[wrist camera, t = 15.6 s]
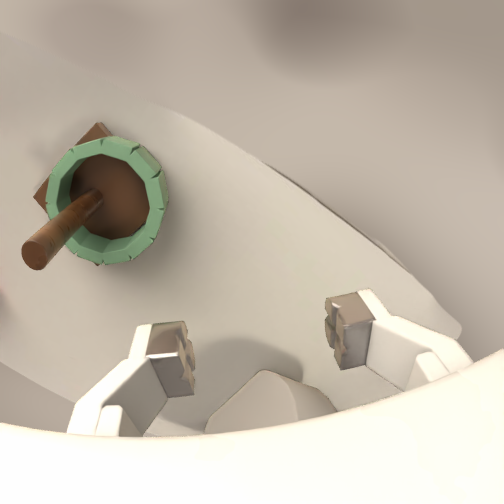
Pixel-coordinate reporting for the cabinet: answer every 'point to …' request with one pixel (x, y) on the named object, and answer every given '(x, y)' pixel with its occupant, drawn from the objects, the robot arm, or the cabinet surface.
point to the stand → (91, 204)
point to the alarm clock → (269, 404)
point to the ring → (155, 186)
